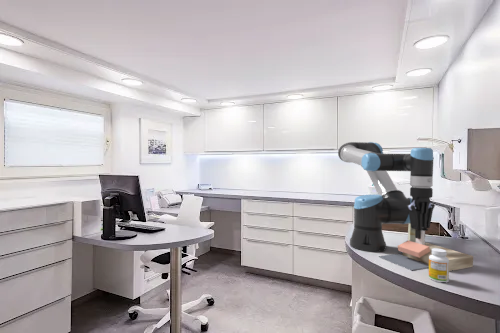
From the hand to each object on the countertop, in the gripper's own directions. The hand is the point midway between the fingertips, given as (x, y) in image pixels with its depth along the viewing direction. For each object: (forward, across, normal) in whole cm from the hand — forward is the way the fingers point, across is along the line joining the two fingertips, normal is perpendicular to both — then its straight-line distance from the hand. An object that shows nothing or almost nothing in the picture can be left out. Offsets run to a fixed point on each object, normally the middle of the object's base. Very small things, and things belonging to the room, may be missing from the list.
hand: (420, 246), depth 108 cm
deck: (+5, +4, -3) cm, 8 cm away
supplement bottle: (+5, -12, -16) cm, 21 cm away
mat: (+5, -8, 0) cm, 10 cm away
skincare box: (+6, +22, +18) cm, 29 cm away
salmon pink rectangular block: (+1, -4, 0) cm, 4 cm away
